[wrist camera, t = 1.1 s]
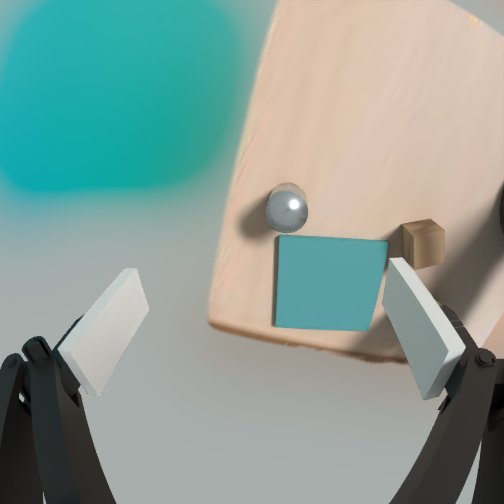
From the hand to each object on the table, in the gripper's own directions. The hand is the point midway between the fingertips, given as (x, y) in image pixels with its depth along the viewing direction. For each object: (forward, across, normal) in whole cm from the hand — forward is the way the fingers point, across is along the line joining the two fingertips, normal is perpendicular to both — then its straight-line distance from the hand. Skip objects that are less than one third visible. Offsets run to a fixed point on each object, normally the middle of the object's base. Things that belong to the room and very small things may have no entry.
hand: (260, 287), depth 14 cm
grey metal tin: (+26, -2, +3) cm, 26 cm away
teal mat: (+25, -8, +16) cm, 31 cm away
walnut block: (+24, -22, +8) cm, 34 cm away
